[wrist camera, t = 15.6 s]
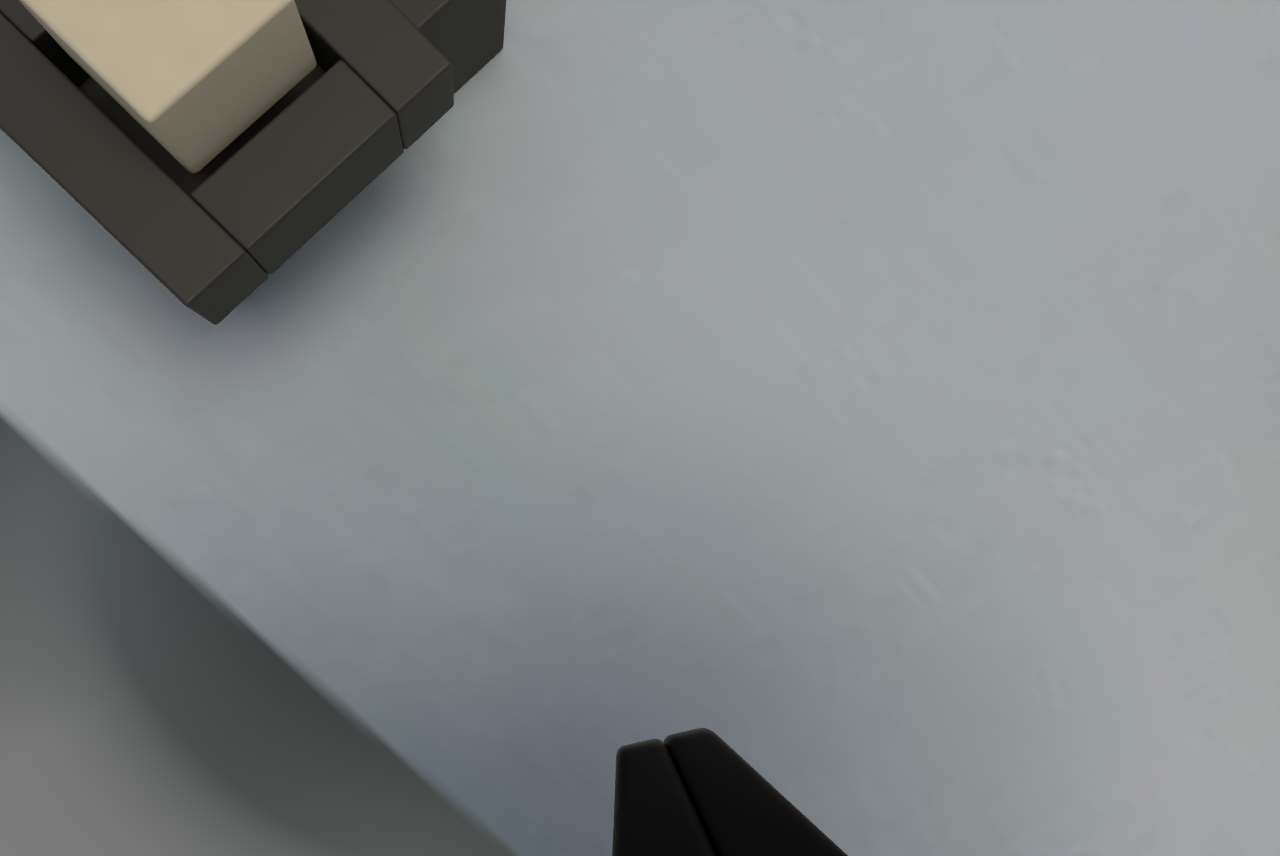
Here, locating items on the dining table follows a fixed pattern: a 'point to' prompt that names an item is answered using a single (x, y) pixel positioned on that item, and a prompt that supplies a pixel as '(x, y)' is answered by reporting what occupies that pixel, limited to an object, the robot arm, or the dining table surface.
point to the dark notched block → (246, 138)
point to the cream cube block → (185, 62)
